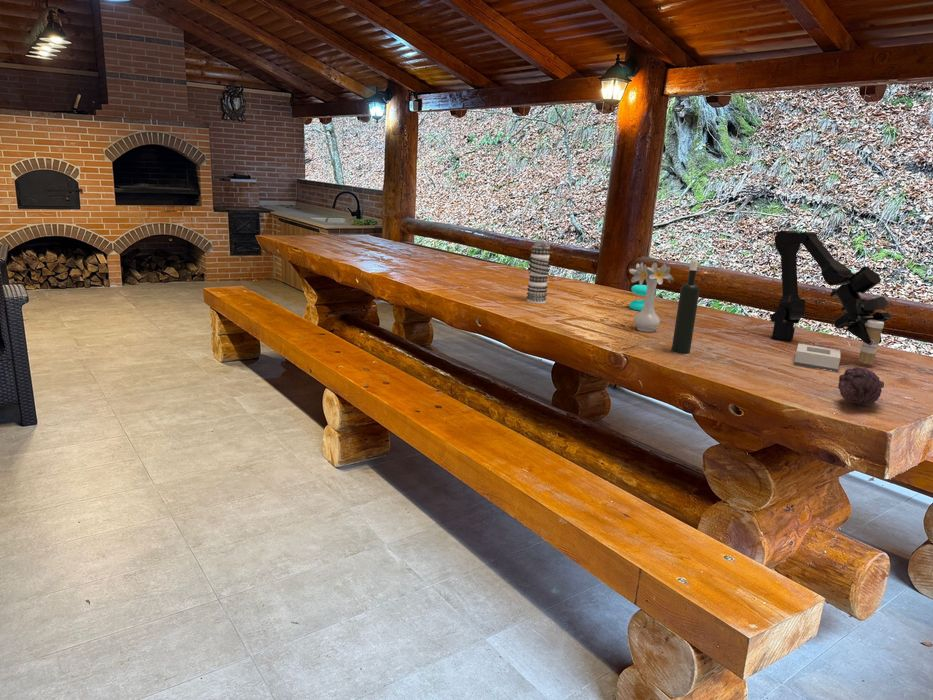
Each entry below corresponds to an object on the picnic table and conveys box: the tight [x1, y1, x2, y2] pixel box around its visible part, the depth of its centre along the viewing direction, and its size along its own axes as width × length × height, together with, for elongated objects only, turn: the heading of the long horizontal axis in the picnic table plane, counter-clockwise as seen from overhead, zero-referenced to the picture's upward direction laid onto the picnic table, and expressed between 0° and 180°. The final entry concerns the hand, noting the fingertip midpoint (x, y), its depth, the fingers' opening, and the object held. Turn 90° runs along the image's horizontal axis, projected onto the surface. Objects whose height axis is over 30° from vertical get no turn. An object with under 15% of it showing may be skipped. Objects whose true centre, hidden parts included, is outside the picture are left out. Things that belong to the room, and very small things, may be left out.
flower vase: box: [628, 262, 675, 333], centre depth 234 cm, size 13×18×25 cm
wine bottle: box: [671, 258, 700, 355], centre depth 206 cm, size 6×6×30 cm
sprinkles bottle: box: [857, 320, 885, 365], centre depth 203 cm, size 5×5×14 cm
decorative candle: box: [526, 242, 551, 304], centre depth 276 cm, size 9×9×25 cm
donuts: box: [628, 284, 657, 312], centre depth 274 cm, size 10×10×10 cm
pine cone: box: [837, 366, 885, 407], centre depth 165 cm, size 18×10×10 cm, turn 131°
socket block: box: [793, 343, 841, 372], centre depth 203 cm, size 12×12×4 cm
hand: (874, 343), depth 202 cm, fingers closed on sprinkles bottle, 4 cm apart
